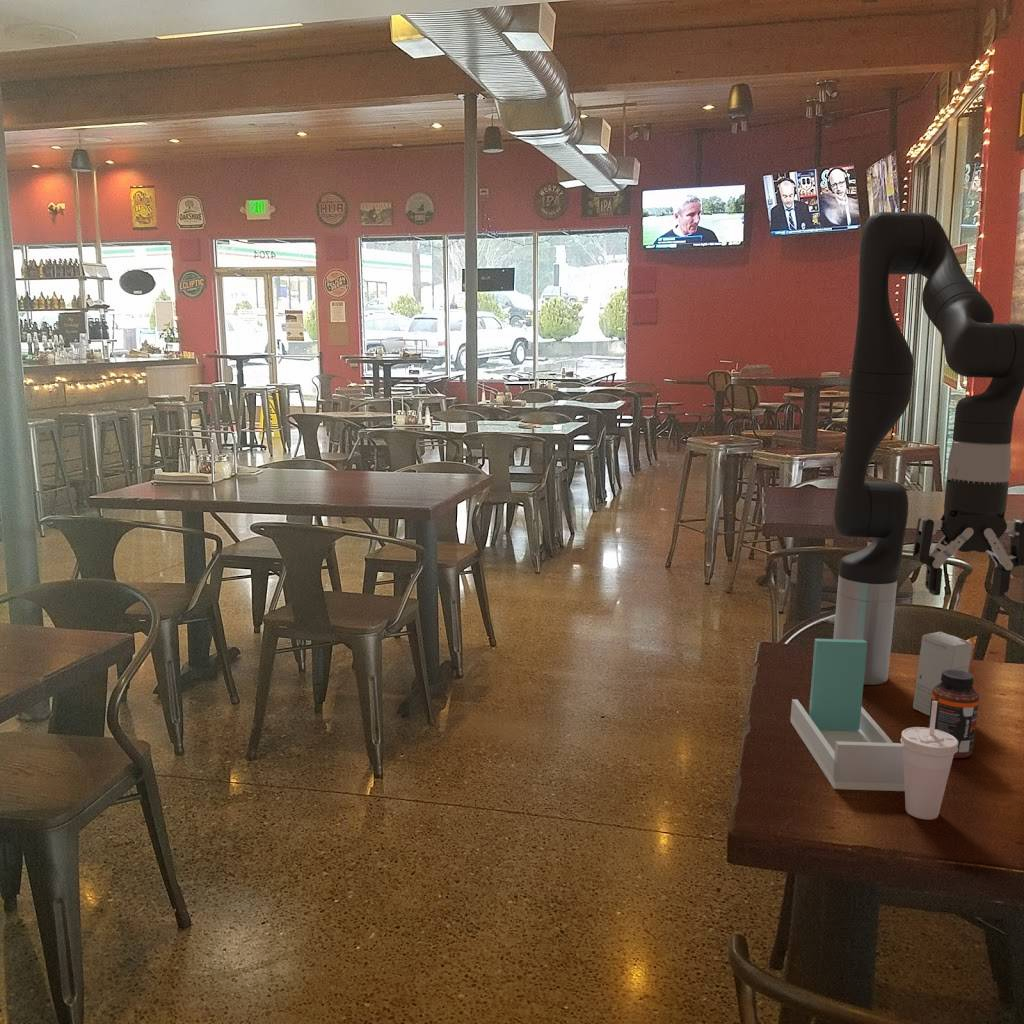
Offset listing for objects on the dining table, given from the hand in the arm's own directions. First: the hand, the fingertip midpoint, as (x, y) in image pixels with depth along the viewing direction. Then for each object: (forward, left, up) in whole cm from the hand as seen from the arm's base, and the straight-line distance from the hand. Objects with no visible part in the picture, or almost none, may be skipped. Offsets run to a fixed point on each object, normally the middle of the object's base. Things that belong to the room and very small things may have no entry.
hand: (965, 594), depth 135 cm
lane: (+2, -15, -23) cm, 27 cm away
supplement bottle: (0, 0, -23) cm, 23 cm away
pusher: (-4, -15, -21) cm, 26 cm away
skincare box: (-14, +4, -23) cm, 27 cm away
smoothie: (+19, -11, -23) cm, 31 cm away
